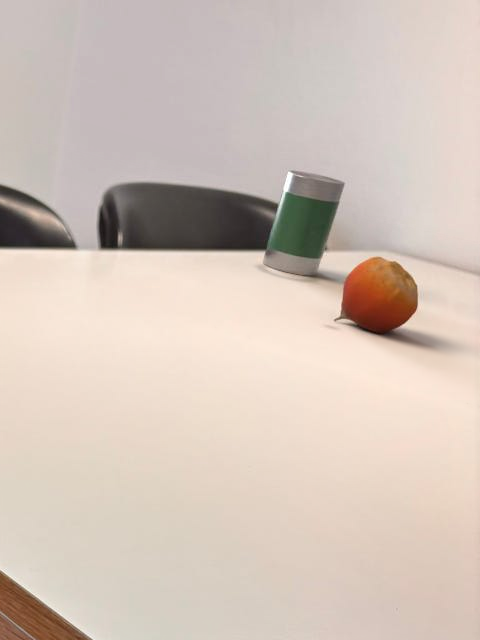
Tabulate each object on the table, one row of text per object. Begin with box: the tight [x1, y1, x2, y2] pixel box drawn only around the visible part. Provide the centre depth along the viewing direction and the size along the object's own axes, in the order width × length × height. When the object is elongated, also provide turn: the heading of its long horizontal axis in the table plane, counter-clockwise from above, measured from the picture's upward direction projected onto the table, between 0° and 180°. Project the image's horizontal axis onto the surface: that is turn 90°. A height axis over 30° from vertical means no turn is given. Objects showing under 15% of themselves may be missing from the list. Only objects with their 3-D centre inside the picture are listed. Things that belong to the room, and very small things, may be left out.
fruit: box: [333, 256, 419, 334], centre depth 113 cm, size 8×8×8 cm
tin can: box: [262, 170, 346, 277], centre depth 135 cm, size 7×7×11 cm
